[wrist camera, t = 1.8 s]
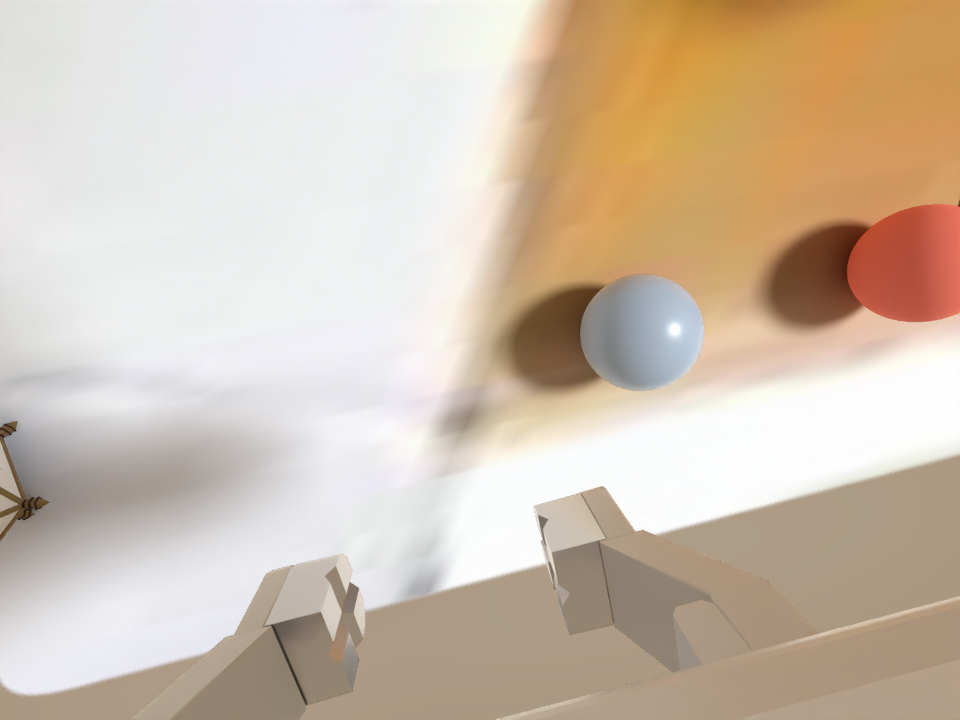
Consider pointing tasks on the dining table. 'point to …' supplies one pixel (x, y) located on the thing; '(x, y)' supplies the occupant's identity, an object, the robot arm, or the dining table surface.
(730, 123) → the dining table surface
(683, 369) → the blue ball
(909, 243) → the red ball
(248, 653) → the robot arm
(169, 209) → the dining table surface
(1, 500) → the game die
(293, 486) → the dining table surface
